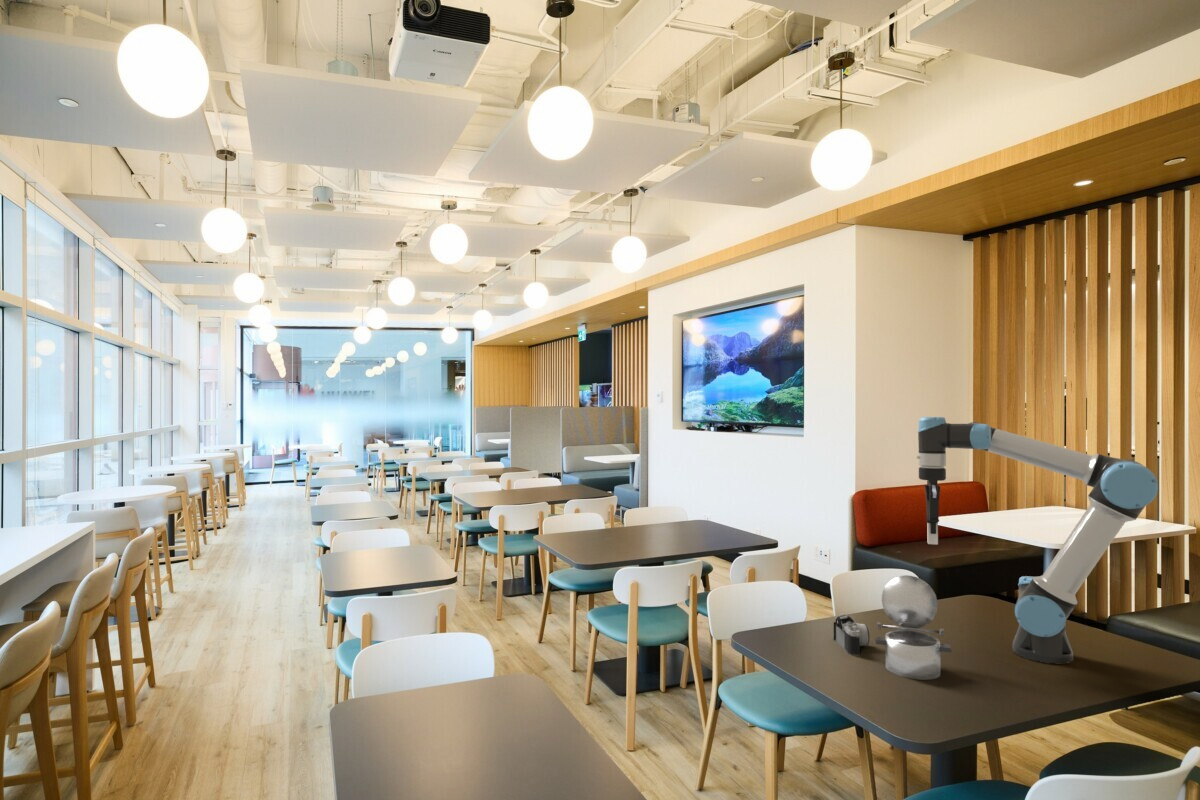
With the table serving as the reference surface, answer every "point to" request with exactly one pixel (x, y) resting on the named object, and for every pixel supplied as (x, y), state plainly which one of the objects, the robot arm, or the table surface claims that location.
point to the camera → (850, 634)
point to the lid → (909, 603)
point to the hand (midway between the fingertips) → (932, 543)
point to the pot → (912, 653)
